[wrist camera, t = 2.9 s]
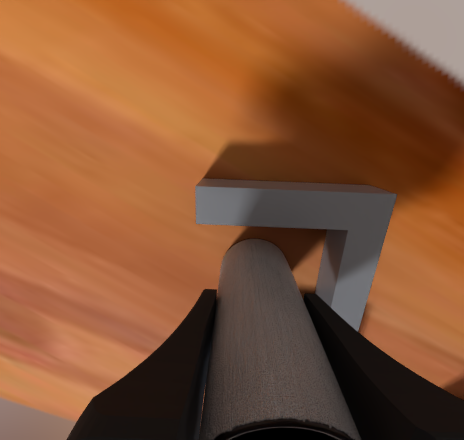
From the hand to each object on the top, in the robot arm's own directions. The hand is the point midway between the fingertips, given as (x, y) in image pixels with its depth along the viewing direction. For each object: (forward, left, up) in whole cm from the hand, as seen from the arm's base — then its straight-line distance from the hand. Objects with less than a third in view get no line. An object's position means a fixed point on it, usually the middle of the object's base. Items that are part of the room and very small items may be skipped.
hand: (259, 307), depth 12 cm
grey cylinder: (0, 0, -4) cm, 4 cm away
